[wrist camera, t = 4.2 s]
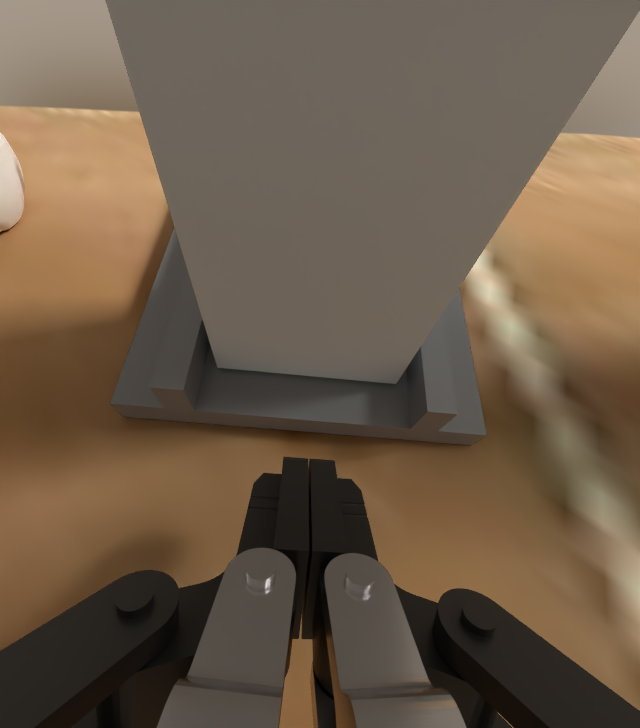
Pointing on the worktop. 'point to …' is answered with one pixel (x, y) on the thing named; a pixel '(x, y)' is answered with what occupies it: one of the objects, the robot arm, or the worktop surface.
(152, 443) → the worktop surface
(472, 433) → the track
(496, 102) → the grey tall block
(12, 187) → the water bottle
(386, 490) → the worktop surface
